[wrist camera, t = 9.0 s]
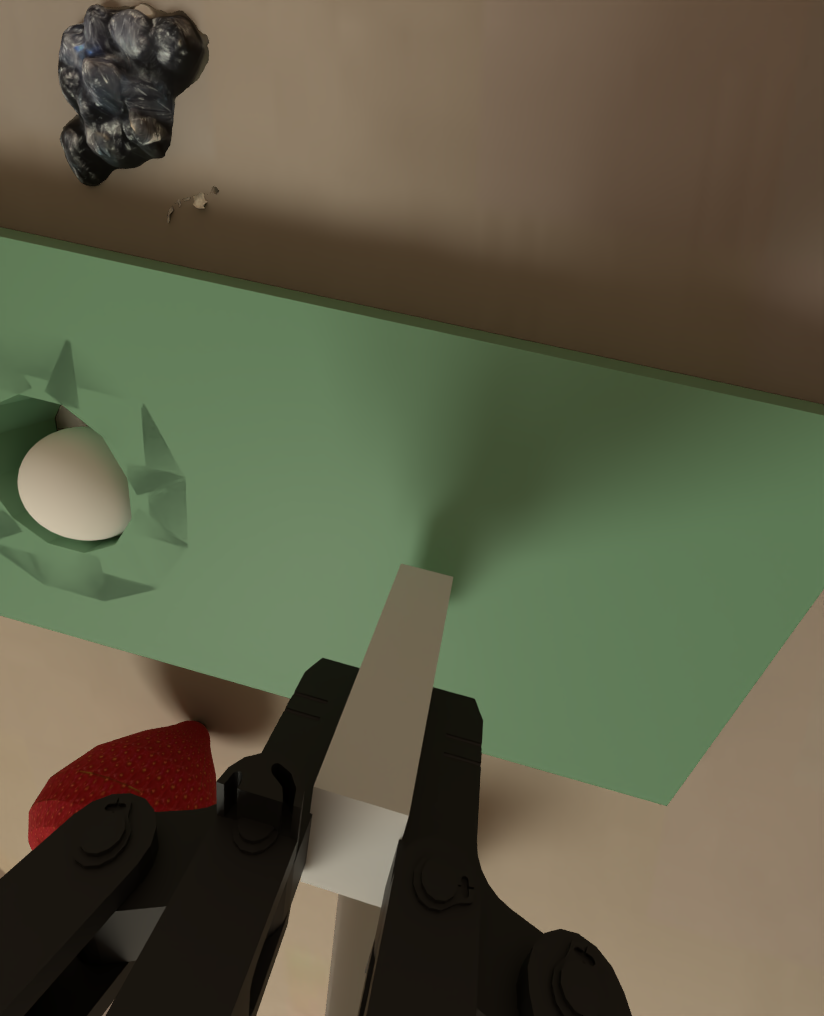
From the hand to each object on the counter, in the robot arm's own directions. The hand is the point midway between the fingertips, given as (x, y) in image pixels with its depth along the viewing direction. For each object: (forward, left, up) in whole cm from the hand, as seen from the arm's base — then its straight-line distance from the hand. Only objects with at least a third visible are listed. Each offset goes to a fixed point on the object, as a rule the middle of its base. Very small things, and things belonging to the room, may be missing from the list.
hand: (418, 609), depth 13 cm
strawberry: (+10, +14, -5) cm, 18 cm away
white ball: (+12, 0, -2) cm, 12 cm away
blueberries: (+11, -11, -5) cm, 16 cm away
